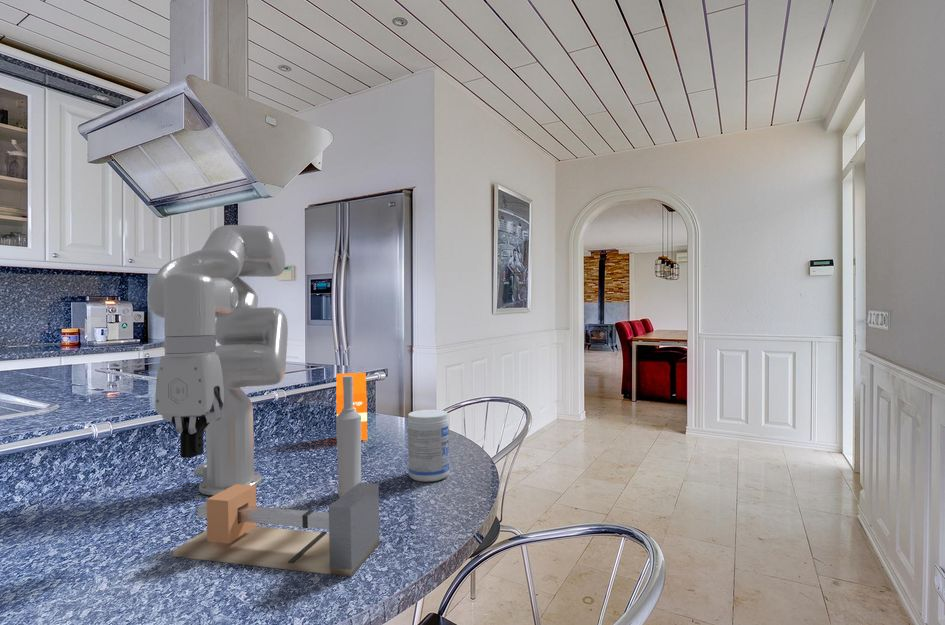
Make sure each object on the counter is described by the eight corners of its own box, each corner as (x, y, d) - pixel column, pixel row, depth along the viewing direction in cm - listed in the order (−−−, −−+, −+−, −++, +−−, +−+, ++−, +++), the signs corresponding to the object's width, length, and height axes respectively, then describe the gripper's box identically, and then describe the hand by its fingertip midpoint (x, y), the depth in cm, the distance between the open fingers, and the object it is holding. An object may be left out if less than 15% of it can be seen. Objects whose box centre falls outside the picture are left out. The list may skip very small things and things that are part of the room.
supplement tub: (452, 481, 109) (451, 416, 109) (410, 485, 107) (409, 418, 107) (445, 467, 119) (444, 407, 118) (406, 471, 116) (405, 410, 116)
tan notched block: (207, 541, 78) (206, 499, 78) (236, 522, 84) (236, 484, 84) (228, 543, 77) (228, 500, 77) (256, 524, 83) (256, 485, 83)
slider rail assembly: (178, 556, 77) (177, 494, 77) (223, 528, 87) (222, 473, 87) (351, 576, 70) (350, 508, 70) (379, 544, 80) (378, 483, 80)
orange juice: (337, 436, 149) (336, 372, 149) (367, 434, 151) (365, 371, 151) (336, 443, 142) (335, 375, 141) (367, 441, 144) (366, 374, 143)
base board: (173, 556, 77) (173, 548, 77) (219, 528, 87) (218, 521, 87) (351, 576, 70) (351, 568, 70) (379, 544, 80) (379, 536, 80)
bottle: (356, 500, 99) (353, 378, 99) (332, 498, 100) (330, 378, 100) (366, 490, 104) (364, 374, 104) (344, 489, 105) (342, 374, 105)
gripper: (134, 348, 80) (135, 460, 79) (212, 347, 76) (213, 464, 76) (172, 346, 87) (173, 448, 87) (244, 345, 84) (245, 451, 83)
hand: (192, 455), depth 81 cm, fingers closed
